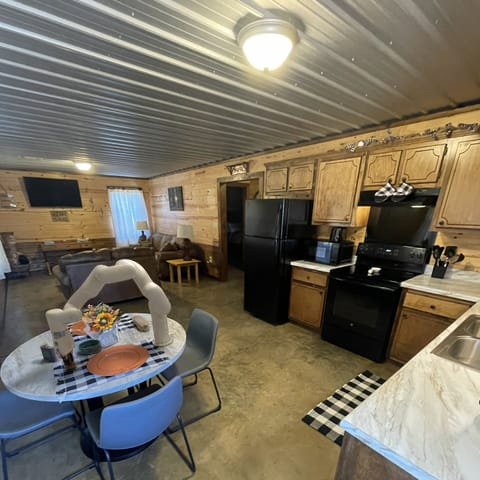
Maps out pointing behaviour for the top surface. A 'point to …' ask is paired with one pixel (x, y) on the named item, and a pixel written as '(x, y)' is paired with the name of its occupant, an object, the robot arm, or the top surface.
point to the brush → (71, 366)
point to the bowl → (89, 347)
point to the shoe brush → (141, 323)
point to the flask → (48, 353)
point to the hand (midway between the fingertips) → (69, 362)
